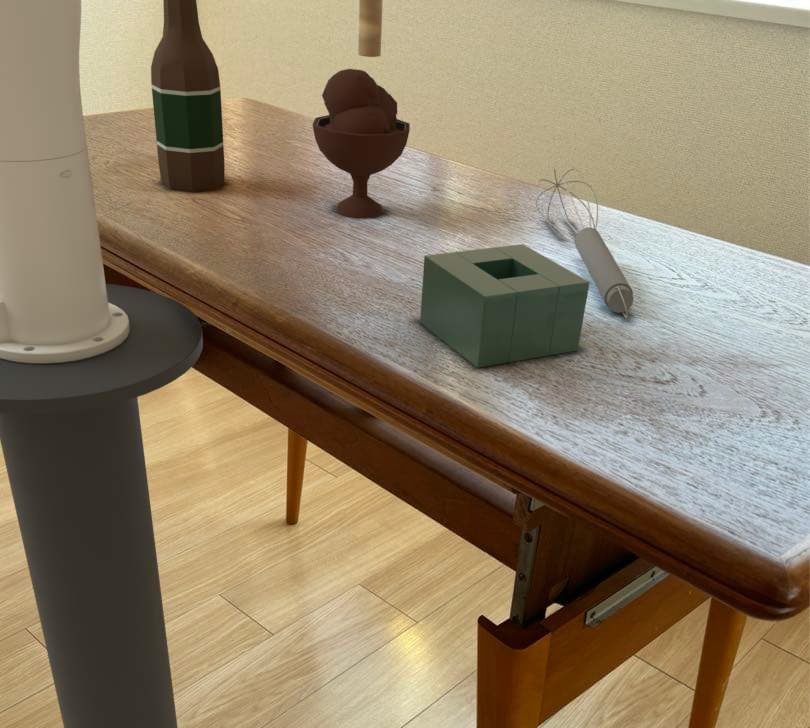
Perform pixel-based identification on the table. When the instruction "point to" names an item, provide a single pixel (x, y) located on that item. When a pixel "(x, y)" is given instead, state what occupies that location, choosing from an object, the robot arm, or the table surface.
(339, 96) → the ice cream bowl
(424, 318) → the holder
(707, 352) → the table surface
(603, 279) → the kitchen whisk
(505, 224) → the table surface
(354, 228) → the table surface
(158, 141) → the beer bottle
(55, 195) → the robot arm
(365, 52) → the stick
